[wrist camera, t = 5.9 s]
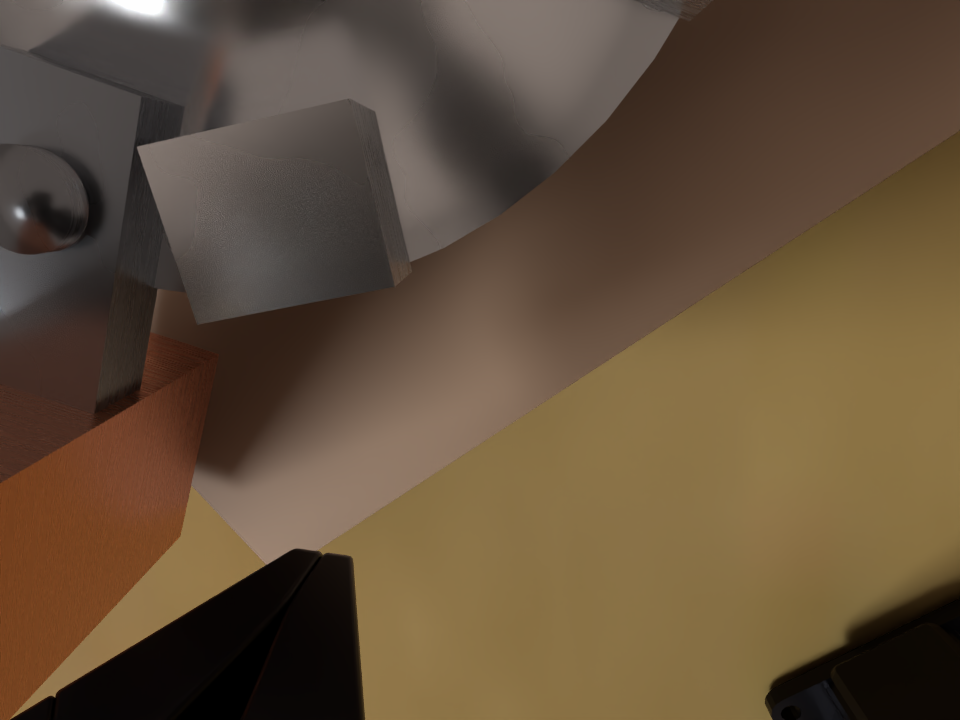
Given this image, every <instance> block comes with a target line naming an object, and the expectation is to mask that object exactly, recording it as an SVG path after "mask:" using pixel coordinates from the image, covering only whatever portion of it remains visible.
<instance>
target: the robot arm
mask: <svg viewBox="0 0 960 720" xmlns="http://www.w3.org/2000/svg"><path fill="white" fill-rule="evenodd" d="M765 705H766V707H767V709H768V711H769V713H770V715H771V717H772V719H773V720H960V599H959V600H957V601H955V602H952V603H950V604H948V605H946V606H944V607H942V608H940V609H938V610H936V611H934V612H932V613H930V614H928V615H925V616H923V617H921V618H919V619H917V620H915V621H913V622H911V623H909V624H907V625H905V626H903V627H900V628H898V629H896V630H894V631H892V632H890V633H888V634H886V635H884V636H882V637H880V638H878V639H876V640H873V641H871V642H869V643H867V644H865V645H863V646H861V647H859V648H857V649H855V650H853V651H851V652H848V653H846V654H844V655H842V656H840V657H838V658H836V659H834V660H832V661H830V662H828V663H826V664H824V665H821V666H819V667H817V668H815V669H813V670H811V671H809V672H807V673H805V674H803V675H801V676H799V677H796V678H794V679H792V680H790V681H788V682H786V683H784V684H782V685H780V686H778V687H776V688H774V689H773V690H771V691H770V692H769V693H768V694H767V696H766V698H765ZM788 706H789V707H788ZM785 707H786V708H785ZM10 720H365V713H364V699H363V686H362V673H361V659H360V646H359V633H358V620H357V606H356V593H355V580H354V567H353V559H352V557H350V556H347V555H340V554H333V553H326V554H324V555H322V553H321V552H319V551H313V550H307V549H300V548H295V549H292V550H290V551H289V552H287V553H285V554H284V555H282V556H280V557H279V558H277V559H275V560H274V561H272V562H270V563H269V564H267V565H265V566H264V567H262V568H260V569H259V570H257V571H255V572H254V573H252V574H250V575H249V576H247V577H246V578H244V579H242V580H241V581H239V582H237V583H236V584H234V585H232V586H231V587H229V588H227V589H226V590H224V591H222V592H221V593H219V594H217V595H216V596H214V597H212V598H211V599H209V600H208V601H206V602H204V603H203V604H201V605H199V606H198V607H196V608H194V609H193V610H191V611H189V612H188V613H186V614H184V615H183V616H181V617H179V618H178V619H176V620H174V621H173V622H171V623H169V624H168V625H166V626H165V627H163V628H161V629H160V630H158V631H156V632H155V633H153V634H151V635H150V636H148V637H146V638H145V639H143V640H141V641H140V642H138V643H136V644H135V645H133V646H131V647H130V648H128V649H126V650H125V651H123V652H122V653H120V654H118V655H117V656H115V657H113V658H112V659H110V660H108V661H107V662H105V663H103V664H102V665H100V666H98V667H97V668H95V669H93V670H92V671H90V672H88V673H87V674H85V675H84V676H82V677H80V678H79V679H77V680H75V681H74V682H72V683H70V684H69V685H67V686H65V687H64V688H62V689H60V690H59V691H58V692H57V693H56V697H53V696H48V697H47V698H45V699H43V700H42V701H40V702H38V703H37V704H35V705H33V706H32V707H30V708H29V709H27V710H25V711H24V712H22V713H20V714H19V715H17V716H15V717H14V718H12V719H10Z"/></svg>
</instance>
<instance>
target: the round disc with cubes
mask: <svg viewBox="0 0 960 720" xmlns="http://www.w3.org/2000/svg"><path fill="white" fill-rule="evenodd" d="M712 1H713V0H0V720H9V719H10V718H11V717H12V716H13V715H14V714H15V713H16V712H17V711H18V709H19V708H20V707H21V706H22V705H23V704H24V703H25V702H26V701H27V700H28V699H29V698H30V697H31V696H32V694H33V693H34V692H35V691H36V690H37V689H38V688H39V687H40V686H41V685H42V684H43V683H44V682H45V681H46V679H47V678H48V677H49V676H50V675H51V674H52V673H53V672H54V671H55V670H56V669H57V668H58V667H59V666H60V664H61V663H62V662H63V661H64V660H65V659H66V658H67V657H68V656H69V655H70V654H71V653H72V652H73V651H74V649H75V648H76V647H77V646H78V645H79V644H80V643H81V642H82V641H83V640H84V639H85V638H86V637H87V636H88V635H89V633H90V632H91V631H92V630H93V629H94V628H95V627H96V626H97V625H98V624H99V623H100V622H101V621H102V620H103V618H104V617H105V616H106V615H107V614H108V613H109V612H110V611H111V610H112V609H113V608H114V607H115V606H116V605H117V603H118V602H119V601H120V600H121V599H122V598H123V597H124V596H125V595H126V594H127V593H128V592H129V591H130V590H131V588H132V587H133V586H134V585H135V584H136V583H137V582H138V581H139V580H140V579H141V578H142V577H143V576H144V575H145V573H146V572H147V571H148V570H149V569H150V568H151V567H152V566H153V565H154V564H155V563H156V562H157V561H158V560H159V559H160V557H161V556H162V555H163V554H164V553H165V552H166V551H167V550H168V549H169V548H170V547H171V546H172V545H173V544H174V542H175V541H176V540H177V539H178V538H179V537H180V535H181V530H182V526H183V521H184V516H185V512H186V507H187V502H188V498H189V493H190V488H191V483H192V479H193V474H194V469H195V465H196V460H197V455H198V451H199V446H200V441H201V436H202V432H203V427H204V422H205V418H206V413H207V408H208V404H209V399H210V394H211V390H212V385H213V380H214V375H215V371H216V366H217V361H218V357H219V354H216V353H213V352H210V351H207V350H204V349H201V348H198V347H195V346H192V345H189V344H186V343H183V342H180V341H177V340H174V339H171V338H168V337H165V336H162V335H159V334H156V333H153V332H150V331H151V325H152V319H153V314H154V308H155V302H156V296H157V290H158V289H163V290H171V291H178V292H185V293H187V296H188V299H189V302H190V305H191V308H192V311H193V314H194V317H195V320H196V322H197V325H198V324H203V323H208V322H214V321H219V320H224V319H229V318H234V317H240V316H245V315H250V314H255V313H261V312H266V311H271V310H276V309H282V308H287V307H292V306H297V305H302V304H308V303H313V302H318V301H323V300H329V299H334V298H339V297H344V296H349V295H355V294H360V293H365V292H370V291H376V290H381V289H386V288H391V287H395V286H396V285H397V284H399V283H400V282H401V281H402V280H403V279H404V278H405V277H406V276H407V275H409V274H410V273H411V272H412V270H411V265H410V262H412V261H414V260H416V259H419V258H421V257H424V256H426V255H428V254H431V253H433V252H436V251H438V250H440V249H443V248H445V247H446V246H448V245H450V244H452V243H453V242H455V241H457V240H458V239H460V238H462V237H464V236H465V235H467V234H469V233H470V232H472V231H474V230H475V229H477V228H479V227H481V226H482V225H484V224H486V223H487V222H489V221H491V220H493V219H494V218H496V217H498V216H499V215H501V214H502V213H503V212H505V211H506V210H507V209H509V208H510V207H511V206H512V205H514V204H515V203H516V202H518V201H519V200H520V199H521V198H523V197H524V196H525V195H527V194H528V193H529V192H530V191H532V190H533V189H534V188H536V187H537V186H538V185H539V184H541V183H542V182H543V181H545V180H546V179H547V178H548V177H550V176H551V175H552V174H554V173H555V172H556V171H557V170H558V169H559V168H560V167H561V166H562V165H563V164H564V163H565V162H566V161H567V160H568V159H569V158H570V157H571V156H572V155H573V154H574V153H575V152H576V151H577V150H578V149H579V148H580V147H581V146H582V145H583V144H584V143H585V142H586V141H587V140H588V139H589V138H590V137H591V136H592V135H593V134H594V133H595V132H596V131H597V130H598V129H599V128H600V127H601V126H602V125H603V124H604V123H605V122H606V121H607V119H608V118H609V117H610V115H611V114H612V113H613V112H614V110H615V109H616V108H617V106H618V105H619V104H620V103H621V101H622V100H623V99H624V97H625V96H626V95H627V93H628V92H629V91H630V90H631V88H632V87H633V86H634V84H635V83H636V82H637V81H638V79H639V78H640V77H641V75H642V74H643V73H644V72H645V70H646V69H647V68H648V66H649V65H650V64H651V63H652V61H653V60H654V59H655V57H656V55H657V54H658V52H659V51H660V49H661V47H662V46H663V44H664V42H665V41H666V39H667V37H668V36H669V34H670V32H671V31H672V29H673V27H674V26H675V24H676V22H677V21H678V19H679V18H682V19H685V20H687V21H690V20H692V19H693V18H694V17H695V16H696V15H697V14H698V13H699V12H700V11H702V10H703V9H704V8H705V7H706V6H707V5H708V4H709V3H710V2H712Z"/></svg>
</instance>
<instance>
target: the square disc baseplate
mask: <svg viewBox="0 0 960 720" xmlns="http://www.w3.org/2000/svg"><path fill="white" fill-rule="evenodd" d="M958 131H960V0H713V1H712V2H710V3H709V4H708V5H707V6H706V7H705V8H704V9H703V10H702V11H700V12H699V13H698V14H697V15H696V16H695V17H694V18H693V19H692V20H690V21H687V20H685V19H682V18H679V19H678V21H677V22H676V24H675V26H674V27H673V29H672V31H671V32H670V34H669V36H668V37H667V39H666V41H665V42H664V44H663V46H662V47H661V49H660V51H659V52H658V54H657V55H656V57H655V59H654V60H653V61H652V63H651V64H650V65H649V66H648V68H647V69H646V70H645V72H644V73H643V74H642V75H641V77H640V78H639V79H638V81H637V82H636V83H635V84H634V86H633V87H632V88H631V90H630V91H629V92H628V93H627V95H626V96H625V97H624V99H623V100H622V101H621V103H620V104H619V105H618V106H617V108H616V109H615V110H614V112H613V113H612V114H611V115H610V117H609V118H608V119H607V121H606V122H605V123H604V124H603V125H602V126H601V127H600V128H599V129H598V130H597V131H596V132H595V133H594V134H593V135H592V136H591V137H590V138H589V139H588V140H587V141H586V142H585V143H584V144H583V145H582V146H581V147H580V148H579V149H578V150H577V151H576V152H575V153H574V154H573V155H572V156H571V157H570V158H569V159H568V160H567V161H566V162H565V163H564V164H563V165H562V166H561V167H560V168H559V169H558V170H557V171H556V172H555V173H554V174H552V175H551V176H550V177H548V178H547V179H546V180H545V181H543V182H542V183H541V184H539V185H538V186H537V187H536V188H534V189H533V190H532V191H530V192H529V193H528V194H527V195H525V196H524V197H523V198H521V199H520V200H519V201H518V202H516V203H515V204H514V205H512V206H511V207H510V208H509V209H507V210H506V211H505V212H503V213H502V214H501V215H499V216H498V217H496V218H494V219H493V220H491V221H489V222H487V223H486V224H484V225H482V226H481V227H479V228H477V229H475V230H474V231H472V232H470V233H469V234H467V235H465V236H464V237H462V238H460V239H458V240H457V241H455V242H453V243H452V244H450V245H448V246H446V247H445V248H443V249H440V250H438V251H436V252H433V253H431V254H428V255H426V256H424V257H421V258H419V259H416V260H414V261H412V262H410V265H411V270H412V272H411V273H410V274H409V275H407V276H406V277H405V278H404V279H403V280H402V281H401V282H400V283H399V284H397V285H396V286H395V287H391V288H386V289H381V290H376V291H370V292H365V293H360V294H355V295H349V296H344V297H339V298H334V299H329V300H323V301H318V302H313V303H308V304H302V305H297V306H292V307H287V308H282V309H276V310H271V311H266V312H261V313H255V314H250V315H245V316H240V317H234V318H229V319H224V320H219V321H214V322H208V323H203V324H198V325H197V322H196V320H195V317H194V314H193V311H192V308H191V305H190V302H189V299H188V296H187V293H185V292H178V291H171V290H163V289H158V290H157V296H156V302H155V308H154V314H153V319H152V325H151V331H150V332H153V333H156V334H159V335H162V336H165V337H168V338H171V339H174V340H177V341H180V342H183V343H186V344H189V345H192V346H195V347H198V348H201V349H204V350H207V351H210V352H213V353H216V354H219V357H218V361H217V366H216V371H215V375H214V380H213V385H212V390H211V394H210V399H209V404H208V408H207V413H206V418H205V422H204V427H203V432H202V436H201V441H200V446H199V451H198V455H197V460H196V465H195V469H194V474H193V479H192V483H191V485H192V486H193V487H194V489H195V490H196V491H197V492H198V493H199V494H200V495H201V496H202V497H203V498H204V499H205V500H206V501H207V502H208V503H209V504H210V506H211V507H212V508H213V509H214V510H215V511H216V512H217V513H218V514H219V515H220V516H221V517H222V518H223V519H224V520H225V521H226V522H227V524H228V525H229V526H230V527H231V528H232V529H233V530H234V531H235V532H236V533H237V534H238V535H239V536H240V537H241V538H242V539H243V541H244V542H245V543H246V544H247V545H248V546H249V547H250V548H251V549H252V550H253V551H254V552H255V553H256V554H257V555H258V556H259V557H260V559H261V560H262V561H263V562H264V563H265V564H266V565H267V564H269V563H270V562H272V561H274V560H275V559H277V558H279V557H280V556H282V555H284V554H285V553H287V552H289V551H290V550H292V549H295V548H300V549H307V550H313V551H317V550H318V549H320V548H321V547H323V546H325V545H326V544H328V543H329V542H331V541H332V540H334V539H335V538H337V537H338V536H340V535H341V534H343V533H344V532H346V531H347V530H349V529H351V528H352V527H354V526H355V525H357V524H358V523H360V522H361V521H363V520H364V519H366V518H367V517H369V516H370V515H372V514H374V513H375V512H377V511H378V510H380V509H381V508H383V507H384V506H386V505H387V504H389V503H390V502H392V501H393V500H395V499H396V498H398V497H400V496H401V495H403V494H404V493H406V492H407V491H409V490H410V489H412V488H413V487H415V486H416V485H418V484H419V483H421V482H423V481H424V480H426V479H427V478H429V477H430V476H432V475H433V474H435V473H436V472H438V471H439V470H441V469H442V468H444V467H445V466H447V465H449V464H450V463H452V462H453V461H455V460H456V459H458V458H459V457H461V456H462V455H464V454H465V453H467V452H468V451H470V450H472V449H473V448H475V447H476V446H478V445H479V444H481V443H482V442H484V441H485V440H487V439H488V438H490V437H491V436H493V435H494V434H496V433H498V432H499V431H501V430H502V429H504V428H505V427H507V426H508V425H510V424H511V423H513V422H514V421H516V420H517V419H519V418H521V417H522V416H524V415H525V414H527V413H528V412H530V411H531V410H533V409H534V408H536V407H537V406H539V405H540V404H542V403H543V402H545V401H547V400H548V399H550V398H551V397H553V396H554V395H556V394H557V393H559V392H560V391H562V390H563V389H565V388H566V387H568V386H570V385H571V384H573V383H574V382H576V381H577V380H579V379H580V378H582V377H583V376H585V375H586V374H588V373H589V372H591V371H592V370H594V369H596V368H597V367H599V366H600V365H602V364H603V363H605V362H606V361H608V360H609V359H611V358H612V357H614V356H615V355H617V354H619V353H620V352H622V351H623V350H625V349H626V348H628V347H629V346H631V345H632V344H634V343H635V342H637V341H638V340H640V339H641V338H643V337H645V336H646V335H648V334H649V333H651V332H652V331H654V330H655V329H657V328H658V327H660V326H661V325H663V324H664V323H666V322H668V321H669V320H671V319H672V318H674V317H675V316H677V315H678V314H680V313H681V312H683V311H684V310H686V309H687V308H689V307H690V306H692V305H694V304H695V303H697V302H698V301H700V300H701V299H703V298H704V297H706V296H707V295H709V294H710V293H712V292H713V291H715V290H717V289H718V288H720V287H721V286H723V285H724V284H726V283H727V282H729V281H730V280H732V279H733V278H735V277H736V276H738V275H739V274H741V273H743V272H744V271H746V270H747V269H749V268H750V267H752V266H753V265H755V264H756V263H758V262H759V261H761V260H762V259H764V258H766V257H767V256H769V255H770V254H772V253H773V252H775V251H776V250H778V249H779V248H781V247H782V246H784V245H785V244H787V243H788V242H790V241H792V240H793V239H795V238H796V237H798V236H799V235H801V234H802V233H804V232H805V231H807V230H808V229H810V228H811V227H813V226H815V225H816V224H818V223H819V222H821V221H822V220H824V219H825V218H827V217H828V216H830V215H831V214H833V213H834V212H836V211H837V210H839V209H841V208H842V207H844V206H845V205H847V204H848V203H850V202H851V201H853V200H854V199H856V198H857V197H859V196H860V195H862V194H864V193H865V192H867V191H868V190H870V189H871V188H873V187H874V186H876V185H877V184H879V183H880V182H882V181H883V180H885V179H886V178H888V177H890V176H891V175H893V174H894V173H896V172H897V171H899V170H900V169H902V168H903V167H905V166H906V165H908V164H909V163H911V162H913V161H914V160H916V159H917V158H919V157H920V156H922V155H923V154H925V153H926V152H928V151H929V150H931V149H932V148H934V147H935V146H937V145H939V144H940V143H942V142H943V141H945V140H946V139H948V138H949V137H951V136H952V135H954V134H955V133H957V132H958Z"/></svg>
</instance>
